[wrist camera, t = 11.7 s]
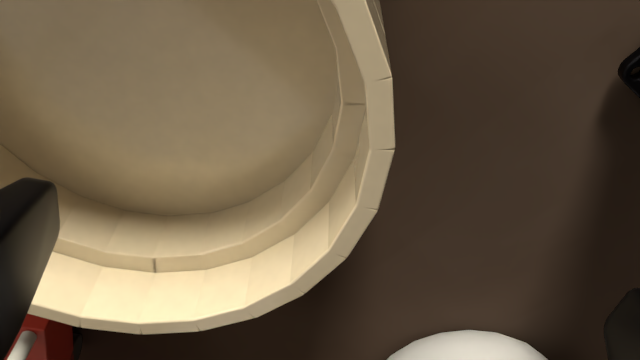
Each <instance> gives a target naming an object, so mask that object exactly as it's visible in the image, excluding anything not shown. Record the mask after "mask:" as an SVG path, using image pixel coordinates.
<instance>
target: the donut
mask: <svg viewBox="0 0 640 360" xmlns="http://www.w3.org/2000/svg"><path fill="white" fill-rule="evenodd" d="M387 360H548V359H547V358H546V357H545V356H543V355H542V354H541V353H539V352H538V351H537V350H535V349H534V348H533V347H531V346H530V345H529V344H527V343H526V342H523V341H520V340H517V339H514V338H511V337H508V336H505V335H502V334H499V333H496V332H486V331H476V330H462V331H452V332H443V333H438V334H435V335H432V336H429V337H425V338H422V339H419V340H416V341H414V342H412V343H410V344H409V345H407V346H405V347H404V348H402V349H400V350H399V351H397V352H395V353H394V354H392V355H391V356H390V357H389V358H388V359H387Z"/></svg>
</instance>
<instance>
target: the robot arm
mask: <svg viewBox="0 0 640 360" xmlns="http://www.w3.org/2000/svg"><path fill="white" fill-rule="evenodd" d="M636 67H640V47H639V48H638V49H637V50H636V51H635V52H633V53H632V54H631V55H630V56H628V57H627V58H626V59H625V60H624V61H623V62H622V63H621V64H620V66H619V69H618V75H619V77H620V78H621V80H622V81H623V82H624V83H625V84H626V85H627V86H628V87H629V88H630V89H631V90H632V91H633V92H634V93H635V94H636V95H637V96H638V97H639V98H640V71H639V72H638V73H636V74H634V75H630V74H631V72H632V70H633V69H635V68H636ZM59 230H60V217H59V206H58V195H57V188H56V186H55V184H54V183H53V182H51V181H47V180H41V179H36V178H30V177H25V178H22V179H19V180H17V181H15V182H13V183H11V184H9V185H7V186H5V187H3V188H1V189H0V360H4V359H5V357H6V355H7V353H8V351H9V350H10V348H11V346H12V344H13V342H14V340H15V338H16V336H17V334H18V333H19V331H20V329H21V326H22V324H23V322H24V319H25V317H26V315H27V312H28V310H29V308H30V305H31V303H32V300H33V298H34V295H35V293H36V290H37V288H38V285H39V283H40V280H41V278H42V276H43V273H44V271H45V268H46V266H47V263H48V261H49V258H50V256H51V253H52V251H53V248H54V246H55V244H56V241H57V238H58V235H59ZM604 338H605V344H606V350H607V355H608V360H640V288H634V289H632V290H630V291H628V292H627V294H626V295H625V296H624V297H623V299H622V300H621V301H620V302H619V304H618V305H617V306H616V307H615V309H614V310H613V311H612V312H611V314H610V315H609V316H608V318H607V319H606V321H605V325H604Z"/></svg>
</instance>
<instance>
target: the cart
mask: <svg viewBox="0 0 640 360" xmlns="http://www.w3.org/2000/svg"><path fill="white" fill-rule="evenodd" d="M81 347H82V335H81V334H76V333H73V332H72V326H71V325H68V324H64V323H60V322H57V321H53V320H49V319H46V318H42V317H38V316H35V315H31V314H27V315H26V317H25V319H24V322H23V324H22V326H21V329H20V331H19V333H18V334H17V336H16V338H15V340H14V342H13V344H12V346H11V348H10V350H9V351H8V353H7V355H6V357H5V359H4V360H78V359H79V356H80V352H81Z"/></svg>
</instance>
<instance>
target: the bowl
mask: <svg viewBox="0 0 640 360" xmlns="http://www.w3.org/2000/svg"><path fill="white" fill-rule="evenodd" d="M394 152H395V125H394V102H393V79H392V73H391V66H390V60H389V54H388V48H387V42H386V36H385V30H384V24H383V18H382V12H381V6H380V2H379V0H0V189H1V188H3V187H5V186H7V185H9V184H11V183H13V182H15V181H17V180H19V179H22V178H25V177H30V178H36V179H41V180H47V181H51V182H53V183H54V184H55V186H56V188H57V195H58V206H59V217H60V230H59V235H58V238H57V241H56V244H55V246H54V248H53V251H52V253H51V256H50V258H49V261H48V263H47V266H46V268H45V271H44V273H43V276H42V278H41V280H40V283H39V285H38V288H37V290H36V293H35V295H34V298H33V300H32V303H31V305H30V308H29V310H28V312H27V314H31V315H35V316H38V317H42V318H46V319H49V320H53V321H57V322H60V323H64V324H68V325H71V326H75V327H80V326H81V328H86V329H94V330H103V331H112V332H121V333H130V334H141V333H142V334H143V335H148V334H167V333H185V332H199V331H205V330H209V329H213V328H217V327H222V326H226V325H230V324H234V323H238V322H242V321H246V320H250V319H253V318H258V317H260V316H262V315H264V314H266V313H268V312H270V311H272V310H274V309H276V308H278V307H280V306H282V305H284V304H286V303H288V302H290V301H292V300H294V299H296V298H299V297H301V296H303V295H304V294H305V293H307V292H308V291H309V290H310V289H311V288H313V287H314V286H315V285H316V284H317V283H318V282H320V281H321V280H322V279H323V278H324V277H326V276H327V275H328V274H329V273H330V272H331V271H333V270H334V269H335V268H336V267H337V266H338V265H340V264H341V263H342V262H343V261H344V260H345V259H346V258H347V257H348V256H349V254H350V253H351V251H352V250H353V248H354V247H355V245H356V244H357V242H358V241H359V239H360V238H361V236H362V235H363V233H364V231H365V230H366V228H367V227H368V225H369V224H370V222H371V221H372V219H373V218H374V216H375V215H376V213H377V212H378V208H379V206H380V203H381V199H382V196H383V192H384V188H385V185H386V181H387V177H388V174H389V170H390V166H391V163H392V159H393V156H394Z"/></svg>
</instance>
